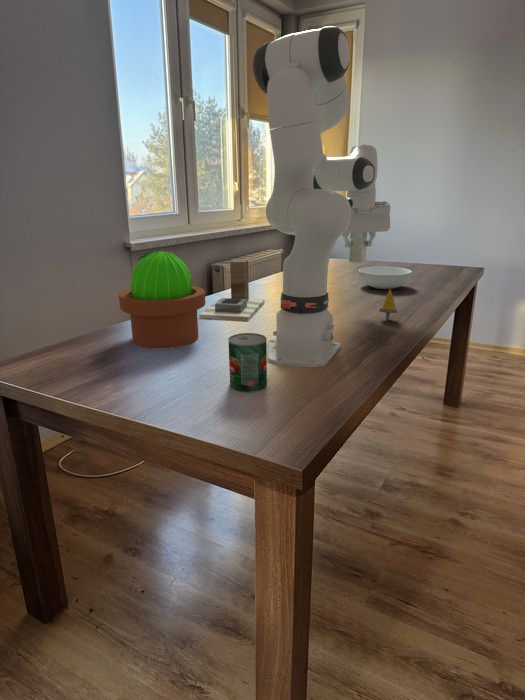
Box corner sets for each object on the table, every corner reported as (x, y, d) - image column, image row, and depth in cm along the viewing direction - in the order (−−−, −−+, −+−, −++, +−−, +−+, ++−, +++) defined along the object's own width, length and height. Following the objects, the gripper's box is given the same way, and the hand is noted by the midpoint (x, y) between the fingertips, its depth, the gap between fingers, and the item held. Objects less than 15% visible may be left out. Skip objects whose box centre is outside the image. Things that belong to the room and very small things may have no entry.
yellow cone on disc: (377, 321, 147) (380, 288, 145) (379, 320, 152) (382, 288, 150) (395, 322, 145) (398, 289, 144) (396, 321, 150) (400, 289, 149)
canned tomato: (274, 389, 101) (274, 339, 97) (243, 399, 97) (241, 347, 93) (253, 377, 107) (252, 330, 104) (222, 386, 103) (220, 337, 99)
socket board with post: (248, 321, 150) (247, 272, 144) (199, 319, 153) (196, 270, 148) (264, 303, 172) (264, 259, 167) (221, 301, 175) (219, 258, 170)
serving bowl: (407, 282, 204) (408, 266, 202) (413, 293, 185) (414, 275, 183) (357, 281, 208) (358, 265, 206) (357, 291, 188) (358, 274, 186)
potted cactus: (222, 339, 133) (218, 248, 125) (154, 360, 118) (145, 257, 110) (175, 324, 148) (169, 241, 139) (109, 341, 133) (98, 249, 125)
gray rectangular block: (360, 262, 154) (362, 230, 150) (349, 261, 156) (350, 229, 153) (365, 261, 157) (367, 229, 154) (353, 260, 159) (355, 228, 156)
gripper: (385, 200, 156) (382, 244, 160) (326, 202, 151) (325, 246, 155) (395, 201, 150) (392, 246, 155) (335, 202, 145) (333, 249, 149)
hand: (358, 246), depth 155 cm, fingers closed on gray rectangular block, 6 cm apart
